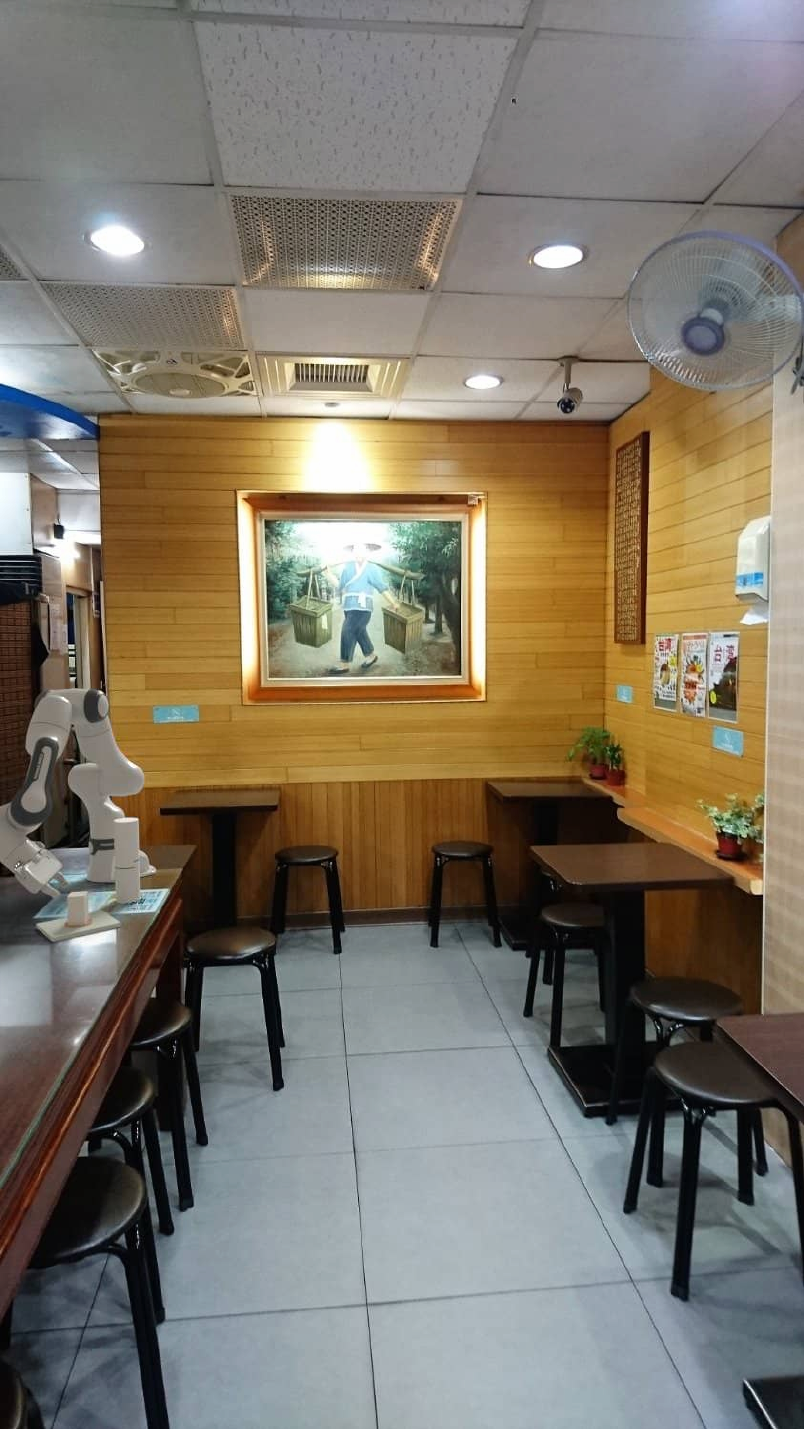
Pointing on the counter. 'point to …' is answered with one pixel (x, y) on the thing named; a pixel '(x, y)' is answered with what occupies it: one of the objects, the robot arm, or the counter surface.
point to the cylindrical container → (127, 860)
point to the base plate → (77, 926)
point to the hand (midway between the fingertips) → (62, 891)
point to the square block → (77, 908)
